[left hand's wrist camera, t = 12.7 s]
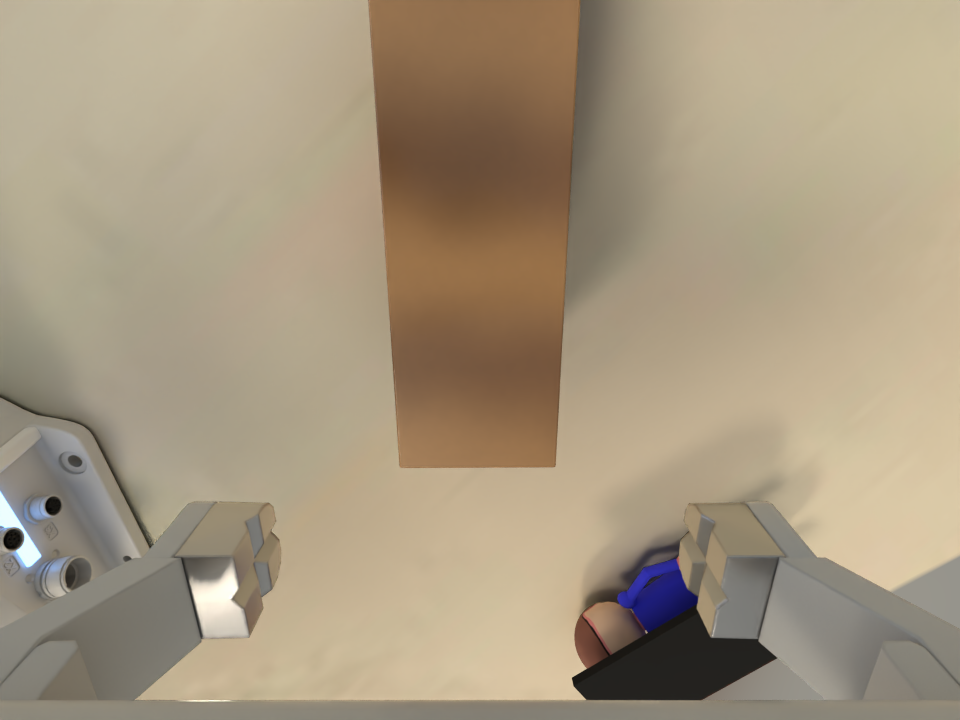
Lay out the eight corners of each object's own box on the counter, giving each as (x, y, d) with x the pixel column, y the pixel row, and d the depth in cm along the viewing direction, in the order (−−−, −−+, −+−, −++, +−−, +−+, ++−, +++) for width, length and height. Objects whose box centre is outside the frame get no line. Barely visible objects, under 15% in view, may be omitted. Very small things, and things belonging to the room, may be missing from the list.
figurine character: (717, 482, 37) (546, 605, 39) (786, 552, 30) (573, 698, 32) (764, 544, 39) (598, 658, 41) (839, 622, 32) (635, 757, 34)
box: (527, 350, 33) (555, 468, 20) (429, 351, 33) (399, 468, 20) (540, -88, 25) (597, -312, 13) (411, -87, 25) (346, -311, 13)
